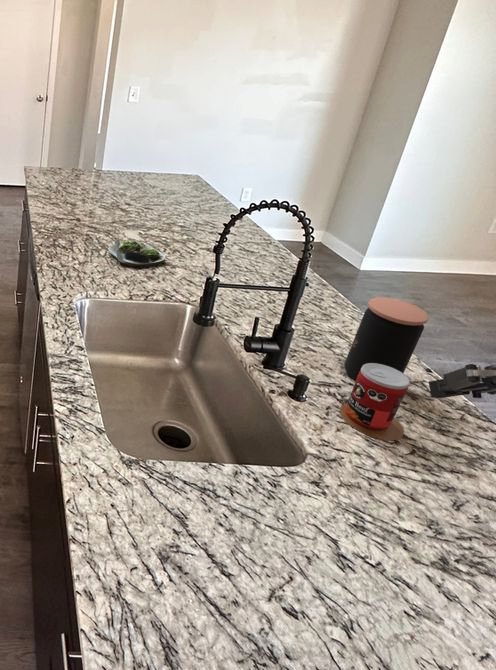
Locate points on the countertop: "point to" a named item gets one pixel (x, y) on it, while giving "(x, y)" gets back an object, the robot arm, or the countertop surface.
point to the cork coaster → (389, 433)
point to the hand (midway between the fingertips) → (434, 389)
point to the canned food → (376, 396)
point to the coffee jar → (386, 335)
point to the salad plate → (136, 254)
